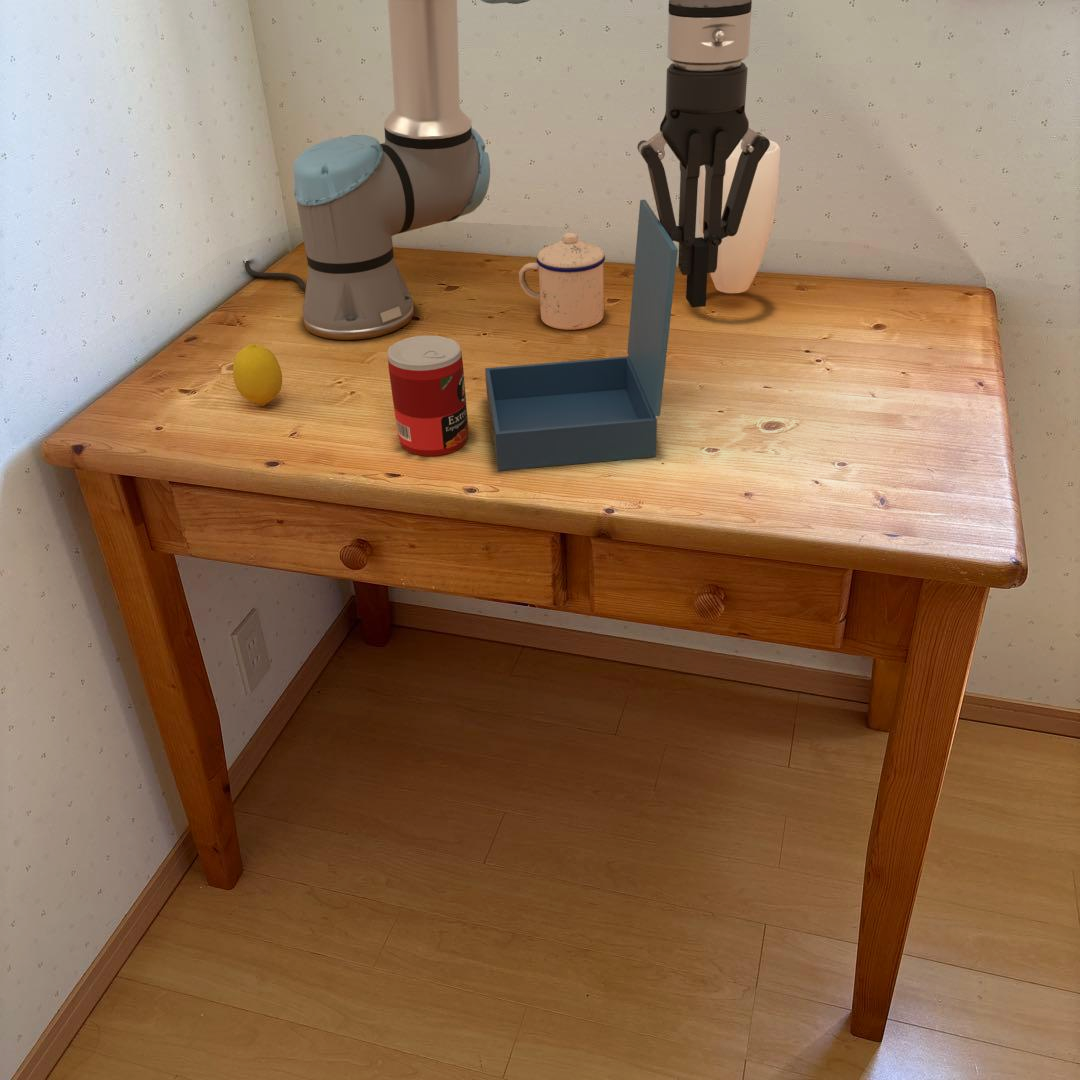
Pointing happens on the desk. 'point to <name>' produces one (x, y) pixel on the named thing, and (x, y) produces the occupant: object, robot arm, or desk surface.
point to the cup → (745, 222)
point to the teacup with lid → (568, 283)
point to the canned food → (428, 394)
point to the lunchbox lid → (651, 304)
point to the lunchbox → (569, 413)
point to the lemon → (257, 374)
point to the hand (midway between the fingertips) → (695, 301)
